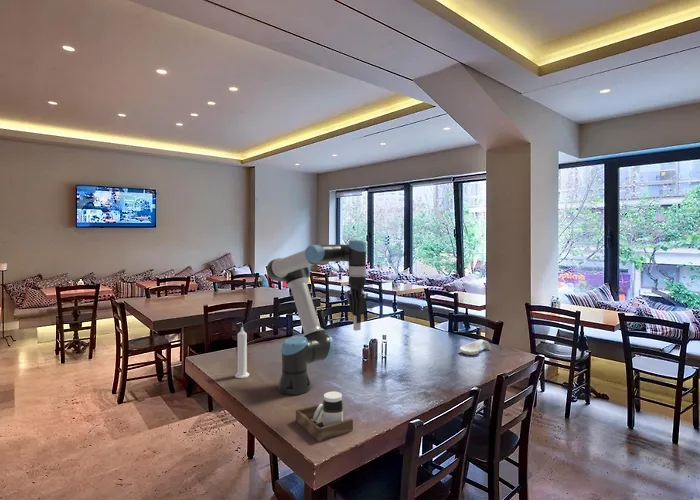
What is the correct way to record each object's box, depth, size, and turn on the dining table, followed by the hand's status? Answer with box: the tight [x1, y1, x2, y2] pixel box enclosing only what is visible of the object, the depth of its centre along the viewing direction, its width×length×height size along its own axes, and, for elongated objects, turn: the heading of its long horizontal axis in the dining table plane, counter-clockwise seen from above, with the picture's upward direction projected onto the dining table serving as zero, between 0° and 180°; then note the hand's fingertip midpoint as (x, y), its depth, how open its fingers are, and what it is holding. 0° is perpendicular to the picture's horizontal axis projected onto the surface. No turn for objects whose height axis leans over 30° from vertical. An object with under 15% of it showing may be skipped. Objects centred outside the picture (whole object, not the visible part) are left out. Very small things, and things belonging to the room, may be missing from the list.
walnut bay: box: [295, 402, 354, 442], centre depth 148 cm, size 18×14×4 cm
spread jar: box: [312, 391, 344, 427], centre depth 149 cm, size 12×11×12 cm
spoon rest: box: [459, 339, 492, 356], centre depth 244 cm, size 24×12×7 cm, turn 126°
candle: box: [234, 326, 250, 379], centre depth 200 cm, size 7×7×25 cm
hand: (357, 329), depth 172 cm, fingers closed
